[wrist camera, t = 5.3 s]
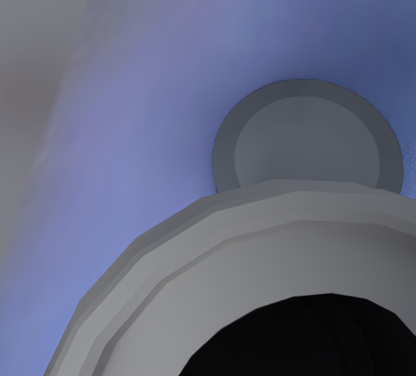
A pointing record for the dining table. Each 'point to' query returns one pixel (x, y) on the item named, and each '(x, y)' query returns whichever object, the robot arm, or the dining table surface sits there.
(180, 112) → the dining table surface
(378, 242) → the can
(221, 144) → the dish
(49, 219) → the dining table surface
